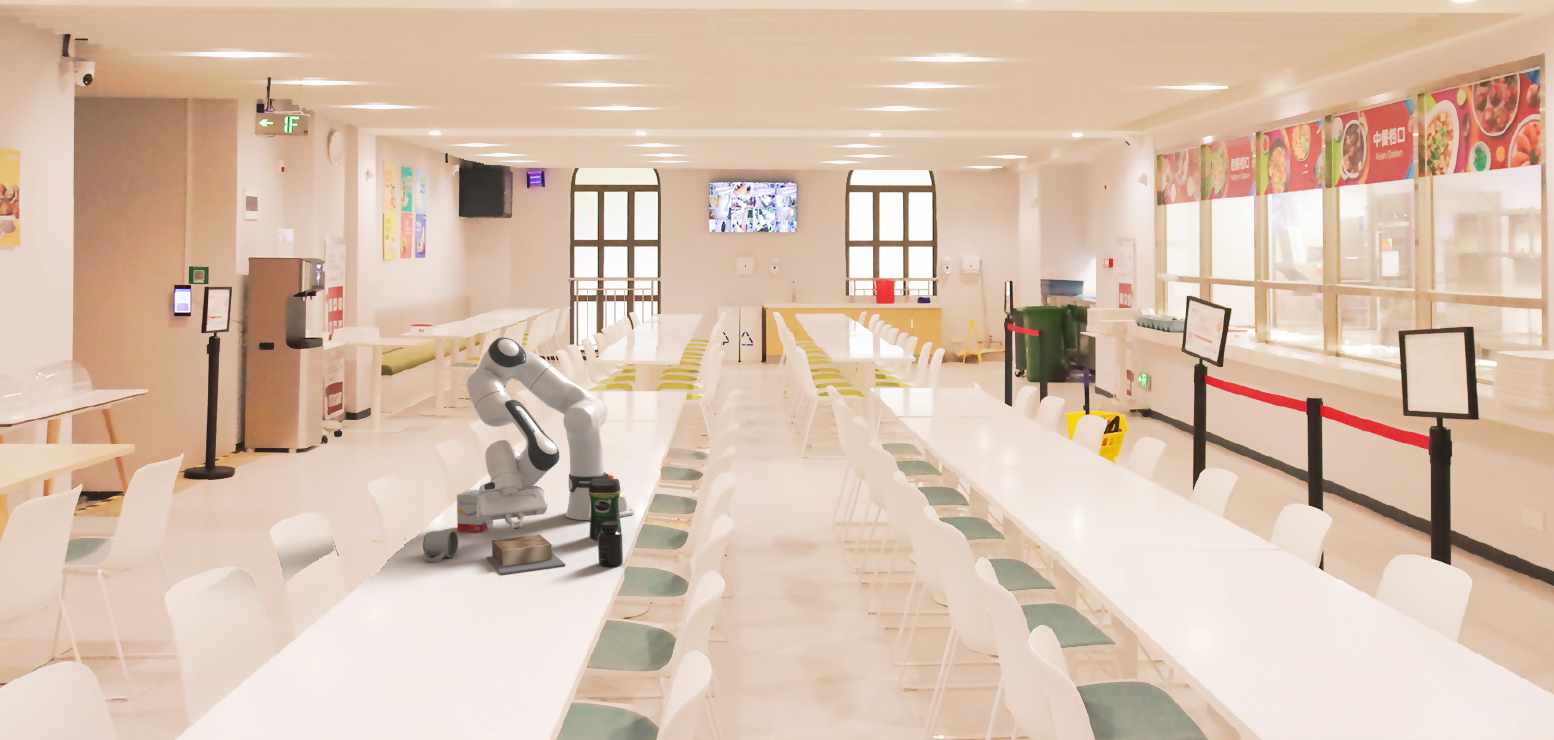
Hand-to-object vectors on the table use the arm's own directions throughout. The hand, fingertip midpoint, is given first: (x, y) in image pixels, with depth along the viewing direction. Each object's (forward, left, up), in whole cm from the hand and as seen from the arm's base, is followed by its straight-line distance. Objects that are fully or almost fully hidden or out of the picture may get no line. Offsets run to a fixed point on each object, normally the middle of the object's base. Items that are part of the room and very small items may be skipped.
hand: (517, 528), depth 315 cm
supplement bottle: (-21, +21, -8) cm, 31 cm away
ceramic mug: (+21, -8, -8) cm, 23 cm away
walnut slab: (0, -1, -5) cm, 5 cm away
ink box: (+4, -35, -8) cm, 36 cm away
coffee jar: (-29, -6, -8) cm, 31 cm away
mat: (0, +8, -8) cm, 12 cm away
